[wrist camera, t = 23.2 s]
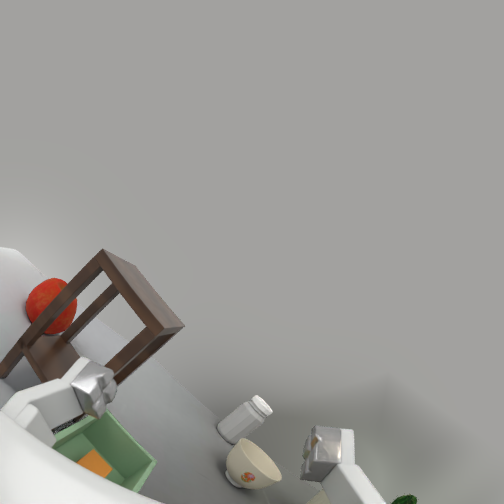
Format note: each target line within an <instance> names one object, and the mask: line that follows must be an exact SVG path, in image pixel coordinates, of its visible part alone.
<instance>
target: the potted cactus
mask: <svg viewBox="0 0 504 504" xmlns="http://www.w3.org/2000/svg"><path fill="white" fill-rule="evenodd" d="M416 503H417V499H416V497H415V496H413V495H407V496H404V495H403V496H401V497H399V498H397V499H396V500H395V501H394V502H392V504H416Z"/></svg>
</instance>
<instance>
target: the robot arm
mask: <svg viewBox="0 0 504 504" xmlns="http://www.w3.org/2000/svg"><path fill="white" fill-rule="evenodd" d="M113 377H114V372H113V370H111V369H109V368H107V367H105V366H102V365H100V364H98V363H96V362H94V361H92V360H89V359H87V358H85V357H81V358H79V359H78V360H77V361H76V362H75V363H74V365H73V366H72V367H71V368H70V369H69V370H68V371H67V372H66V374H65V375H64V376H63V377H62V378H61V379H58V378H57V379H55V380H52V381H49V382H46V383H43V384H40V385H37V386H34V387H30V388H27V389H24V390H21V391H18V392H16V393H15V394H14V395H13V396H12V397H11V398H10V399H9V401H8V402H7V403H6V404H5V405H4V406H3V407H2V409H1V410H0V504H164V503H161V502H159V501H156V500H153V499H151V498H148V497H146V496H143V495H141V494H138V493H136V492H133V491H131V490H129V489H127V488H124V487H122V486H120V485H118V484H116V483H113V482H111V481H109V480H107V479H105V478H103V477H101V476H99V475H97V474H95V473H93V472H92V471H90V470H88V469H86V468H84V467H82V466H81V465H79V464H77V463H75V462H74V461H72V460H70V459H69V458H67V457H65V456H64V455H62V454H60V453H59V452H57V451H56V450H54V449H52V447H53V445H54V444H55V442H56V441H57V440H56V437H55V436H54V434H53V432H52V431H51V429H53V428H55V427H57V426H59V425H61V424H63V423H65V422H67V421H69V420H71V419H73V418H75V417H77V416H79V415H81V414H83V412H84V413H86V414H88V415H90V416H92V417H94V418H96V419H99V420H100V418H101V417H102V416H103V414H104V413H105V411H106V410H107V407H106V404H108V403H110V402H112V401H113V399H114V398H115V395H116V392H117V384H116V382H115V380H114V379H113ZM303 458H304V459H305V461H304V463H303V464H302V466H301V474H300V480H307V481H315V482H321V485H322V487H323V489H324V491H325V493H326V495H327V497H328V499H329V501H330V503H331V504H386V502H385V501H384V500H383V498H382V497H381V495H380V494H379V493H378V491H377V490H376V489H375V487H374V486H373V485H372V483H371V482H370V481H369V479H368V478H367V477H366V475H365V474H364V472H363V471H362V470H361V468H360V467H359V466H358V465H355V454H354V432H353V430H351V429H340V428H334V427H325V426H316V425H315V426H314V427H313V428H312V432H311V435H309V436H308V438H307V439H306V442H305V445H304V450H303Z"/></svg>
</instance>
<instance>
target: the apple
mask: <svg viewBox="0 0 504 504" xmlns="http://www.w3.org/2000/svg"><path fill="white" fill-rule="evenodd" d="M66 285H67V283H66V282H65V281H63V280H61V279H57V278H51V279H48V280H46V281H44V282H42V283H41V284H39V285H38V286H37V287H35V288H34V289H33V291H32V292H31V293H30V294H29V297H28V299H27V302H26V312H27V315H28V317H29V319H30V321H31V322H32V323H33V322H34V321H35V320H36V319H37V317H38V316H39V315H40V314H41V313H42V312H43V311H44V309H45V308H46V307H47V306H48V305H49V304H50V303H51V302H52V300H53V299H54V298H55V297H56V296H57V295H58V294H59V293H60V292H61V291H62V289H63V288H64V287H65V286H66ZM76 309H77V299H76V298H75V299H74V300H73V301H72V302H71V304H70V305H69V306H68V307H67V308H66V309H65V310H64V311H63V312H62V313H61V314H60V315H59V316H58V317H57V319H56V320H55V321H54V322H53V323H52V324H51V325H50V326H49V327H48V328H47V330H46V331H45V332H44V333H45V334H56V333H60V332H63V331H65V330H66V329H67V328H68V327H69V326H70V325H71V323H72V321H73V319H74V316H75V313H76Z"/></svg>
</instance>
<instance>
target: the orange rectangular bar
mask: <svg viewBox="0 0 504 504" xmlns="http://www.w3.org/2000/svg"><path fill="white" fill-rule="evenodd" d="M76 463H77V464H79V465H81V466H82V467H84V468H86V469H88V470H90V471H92V472H93V473H95V474H97V475H99V476H101V477H103V478H105V477H106V476H107V475H108V474H109V473H110V472H111V471H112V470H113V469H112V468H111V467H110V466H109V465H108V464H107V463H106V462H105V461H104V459H103V458H102V457H101V456H100V455H99V454H98V453H97V452H96V451H95V450H94V449H93V450H91V451H90V452H89V453H88V454H86V455H85V456H84V457H82V458H81V459H80V460H78V461H77V462H76Z"/></svg>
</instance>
